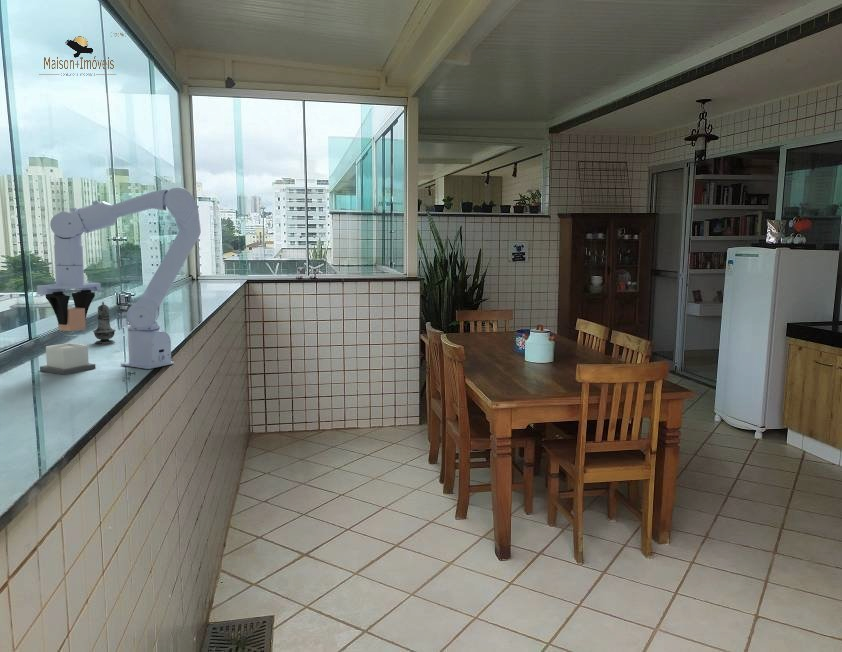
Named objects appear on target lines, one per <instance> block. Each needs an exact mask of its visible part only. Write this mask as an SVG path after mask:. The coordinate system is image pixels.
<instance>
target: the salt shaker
mask: <svg viewBox="0 0 842 652" xmlns="http://www.w3.org/2000/svg"><path fill="white" fill-rule="evenodd" d="M96 319H97V328H96V329H95V330H92V332H93V334H94V337H95V338H96V339H98V340H97V341H95V342H94V344H95V345H110V344H111V343H112V344H115V343H116V342H115V341H114V340H112V339H113V338H114V336H115V332H116V329H114V328H112V327H111V324H110V323H111V322H110V321H111V317H110V308H109V306H108V305H107V304H105V302H104V301H102V302H101V305H99V306H98V307H97V317H96Z"/></svg>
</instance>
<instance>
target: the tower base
mask: <svg viewBox="0 0 842 652" xmlns="http://www.w3.org/2000/svg"><path fill="white" fill-rule="evenodd" d="M88 348H89V346H88V344H81V343H75V342H74V343H73V342H65V343H61V344H60V343H59V344H53V345H47V346H45V356H46V359H45V360H46V365H45V364H44V365H40V366H39V372H46V373H51V374H57V375H62V376H63V375H64V376H65V375H70V374H74V373H79V372H84V371H90V370H95V369H96V367H97V366H96V364H95V363H90V362H89V349H88Z"/></svg>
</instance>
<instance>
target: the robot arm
mask: <svg viewBox="0 0 842 652" xmlns="http://www.w3.org/2000/svg"><path fill="white" fill-rule="evenodd" d="M91 203H92V204H89V205H87V206H84V207H83V206H82V207H80V208H77V207H72V208H70V212H67V211H60V212H58V213H57V214H54V216H53V217H51V220H50V224H49V225H50V230H51V231H52V232H53V241H54V244H53V250H54V251H53V252H54V253H53V254H54V265H55V266H54V269H55V271H54V272H55V283H52V284H43V285H42V284H40V285H39V284H38V285H36V291H37V292H36V293H37V295H42V296H44V295H45V298H46V300H47V301H48V303H49V304H50V306H51V308H52V310H53V311H54V314H55V316H56V317H55V318H56V320H57V325H58V324H61V325H67V320H68V316H67V309H68V307H69V302H70V299H71V298H70V295H66V294H68V293H71V297H72V299H73V304H74V307H78V308H85V321H86V319H87V315H88V310H89V309H90V306H91V304H92V302H93V300H94V298H95V296H96V294H95V293H96V292H101V291H102V285H101V284H102V283H100V282H85V273H84V270H85V269H84V250H83V244H82V243H83V242H82V240H83V238H82V235H83V234H84V233H85V234H89V233H92V232H95V231H98V230H101V229H105V228H109V227H112V226H114V225H116V223H117V220H118V218H122V217H126V216H128V215H133V214H136V213H140V212H143V211H148V210H152V209H154V210H158V211H167V210H168V212H169V213H170V214H171V215H172V216H173V218H174V222H175V224H176V226H177V229H178V233H177V235H176V236H175V238H174V239H173V242H172V243H171V245H170V247H169V249H168V250H167V252H166V254H165V255H164V257H163V258H162V260H161V262H160V264H159V266H158V267H157V269H156V271H155V272H154V275H153V276H152V278H151V280H150V281H149V283H148V285H147V287H146V289H145V290H144V291H143V293H142V294H141V296H140V298H139V299H138V300H137V301H136V302H135V303H134V304H132V305H131V306H130V307H128V310H127V312H126V320H127V322H128V323H129V325H128V326H127V343H128V361H125V362H120V366H126V367H132V368H138V369H146V370H151V369H155V368H161V367H163V366H164V367H165V366H169V365H173V364H175V361H172V339H171V337H170V335H169V333H167V332H166V331H165V330H162V328H161V325H160V324H159V323H158V321H157V320H158V318H159V316H160V307H161V305H162V303H163V301H164V299H165V297H166V295H167V294H168V292H169V290H170V288H171V287H172V285H173V283H174V281H175V279H176V278H177V277H178V274H179V272H180V271H181V269H182V267H183V266H184V264H185V262H186V261H187V259H188V257H189V255H190V253H191V252H192V250H193V249H194V247H195V245H196V243H197V241H198V239H199V238H200V235H201V232H202V229H201V224H200V216H199V215H200V212H199V206H198V204H197V202H196V200H195V198H194V196H193V194H192V193H191V192H190V191H189V190H188V189H186V188H184V187H181V186H176V187H172V188H170V189H168V188H166V189H160V190H155V191H150V192H147V193H144V194H141V195H139V196H135V197H132V198H130V199H127V200H123V201H120V202H117V203H114V204H112V203H109V202H106V201H99V200H94V201H92V202H91Z"/></svg>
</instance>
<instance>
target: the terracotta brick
mask: <svg viewBox="0 0 842 652" xmlns="http://www.w3.org/2000/svg"><path fill="white" fill-rule="evenodd" d="M67 316H68V320H67V325H61V324H58V323H57V327H58V331H65V332H74V331H82V330H86V329H87V327H86V325H87V324H86V320H85V308H78V307H75V306H71V307H70V306H68V309H67Z"/></svg>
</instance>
